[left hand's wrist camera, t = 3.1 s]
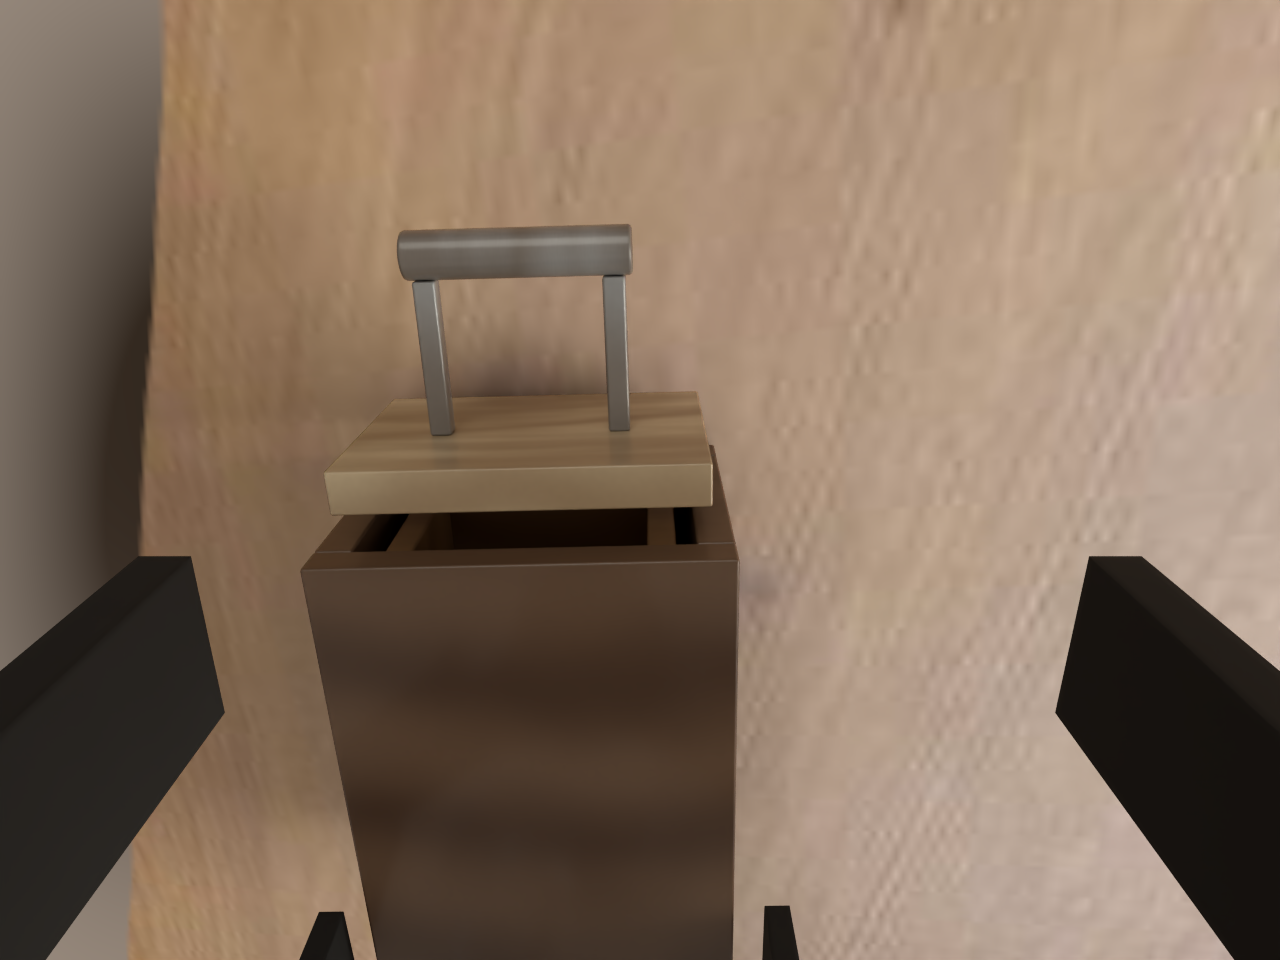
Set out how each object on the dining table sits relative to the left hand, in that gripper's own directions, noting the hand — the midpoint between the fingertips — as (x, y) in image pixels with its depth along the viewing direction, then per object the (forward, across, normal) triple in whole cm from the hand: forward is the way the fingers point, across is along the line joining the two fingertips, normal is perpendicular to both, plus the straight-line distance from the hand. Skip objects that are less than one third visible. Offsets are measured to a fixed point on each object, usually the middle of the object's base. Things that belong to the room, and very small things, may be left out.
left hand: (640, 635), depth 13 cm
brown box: (+17, -3, -11) cm, 20 cm away
